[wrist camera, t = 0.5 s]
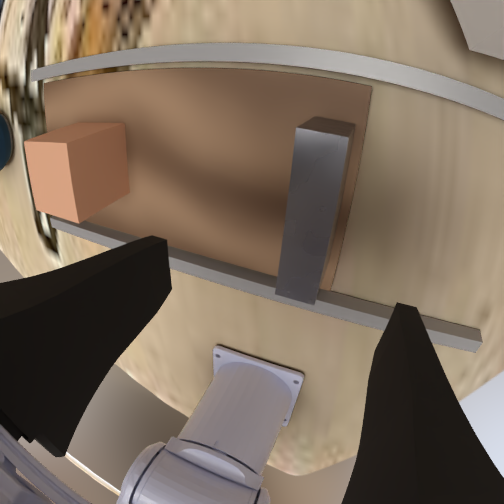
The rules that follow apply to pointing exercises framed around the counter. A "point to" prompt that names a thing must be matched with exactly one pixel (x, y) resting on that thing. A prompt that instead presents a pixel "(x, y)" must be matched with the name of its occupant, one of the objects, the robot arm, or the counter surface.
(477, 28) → the die
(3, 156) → the soda can
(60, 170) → the cube
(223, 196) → the large flat tan board
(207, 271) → the lane rails
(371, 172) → the counter surface
